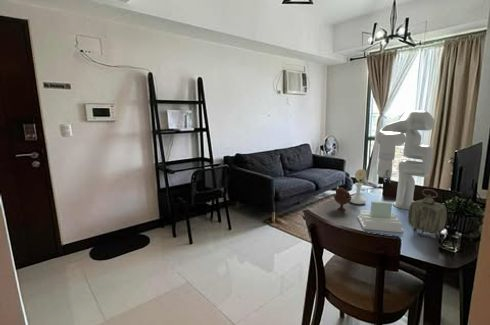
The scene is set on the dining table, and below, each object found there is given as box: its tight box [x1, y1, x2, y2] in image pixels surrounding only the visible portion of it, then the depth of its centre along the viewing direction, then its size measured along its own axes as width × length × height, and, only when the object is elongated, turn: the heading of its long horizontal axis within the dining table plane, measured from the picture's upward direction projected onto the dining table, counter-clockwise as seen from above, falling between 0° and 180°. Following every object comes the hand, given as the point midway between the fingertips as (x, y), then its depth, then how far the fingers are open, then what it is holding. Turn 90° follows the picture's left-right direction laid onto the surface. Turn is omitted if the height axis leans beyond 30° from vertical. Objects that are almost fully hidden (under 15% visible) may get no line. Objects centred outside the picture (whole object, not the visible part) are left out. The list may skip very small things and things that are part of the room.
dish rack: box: [357, 209, 404, 233], centre depth 149 cm, size 20×15×5 cm
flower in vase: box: [349, 168, 367, 205], centre depth 182 cm, size 13×11×25 cm
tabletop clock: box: [407, 188, 448, 239], centre depth 134 cm, size 14×9×25 cm, turn 33°
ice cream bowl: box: [333, 187, 352, 213], centre depth 170 cm, size 11×11×15 cm
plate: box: [369, 200, 393, 219], centre depth 148 cm, size 10×2×12 cm, turn 77°
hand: (383, 186), depth 145 cm, fingers open, 9 cm apart
